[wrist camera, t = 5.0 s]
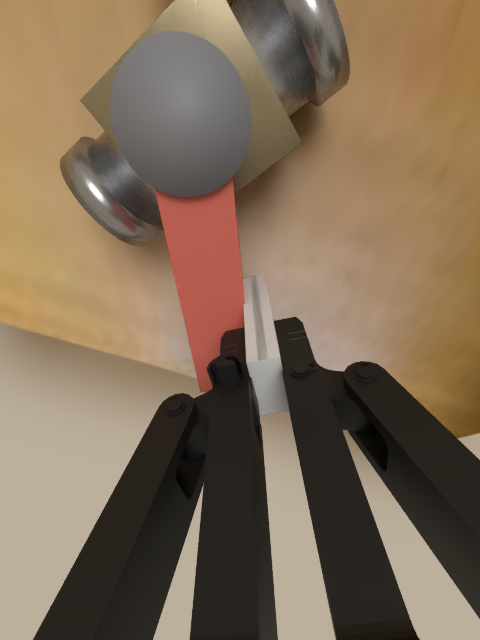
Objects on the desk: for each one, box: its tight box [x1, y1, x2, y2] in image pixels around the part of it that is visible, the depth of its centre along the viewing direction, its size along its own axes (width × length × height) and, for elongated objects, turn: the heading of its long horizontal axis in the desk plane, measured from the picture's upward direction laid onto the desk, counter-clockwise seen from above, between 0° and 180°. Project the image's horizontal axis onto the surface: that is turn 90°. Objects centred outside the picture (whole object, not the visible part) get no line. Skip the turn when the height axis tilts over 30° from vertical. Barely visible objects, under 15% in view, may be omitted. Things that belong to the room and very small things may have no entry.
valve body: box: [60, 0, 350, 246], centre depth 16 cm, size 13×7×7 cm, turn 126°
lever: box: [110, 31, 252, 392], centre depth 14 cm, size 14×4×4 cm, turn 6°
